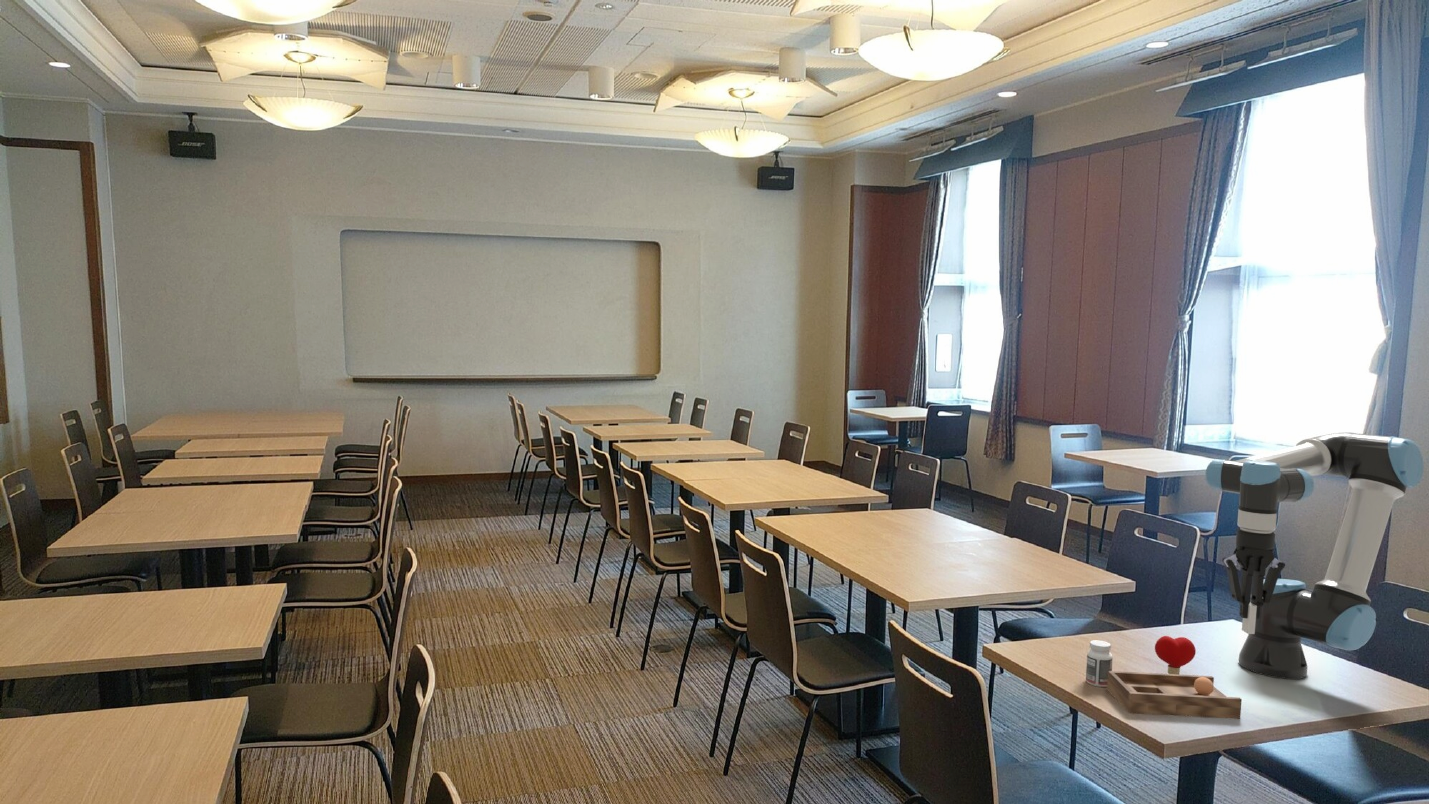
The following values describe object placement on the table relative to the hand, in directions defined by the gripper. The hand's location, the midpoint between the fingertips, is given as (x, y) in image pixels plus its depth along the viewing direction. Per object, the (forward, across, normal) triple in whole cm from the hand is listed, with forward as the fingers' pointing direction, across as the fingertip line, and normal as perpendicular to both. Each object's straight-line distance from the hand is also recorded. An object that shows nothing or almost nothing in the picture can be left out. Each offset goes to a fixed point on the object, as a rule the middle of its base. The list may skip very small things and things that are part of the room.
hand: (1248, 631), depth 210 cm
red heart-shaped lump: (+18, +8, -18) cm, 27 cm away
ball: (+15, +9, 0) cm, 18 cm away
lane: (+18, +16, 0) cm, 24 cm away
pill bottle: (+18, +28, -11) cm, 35 cm away
